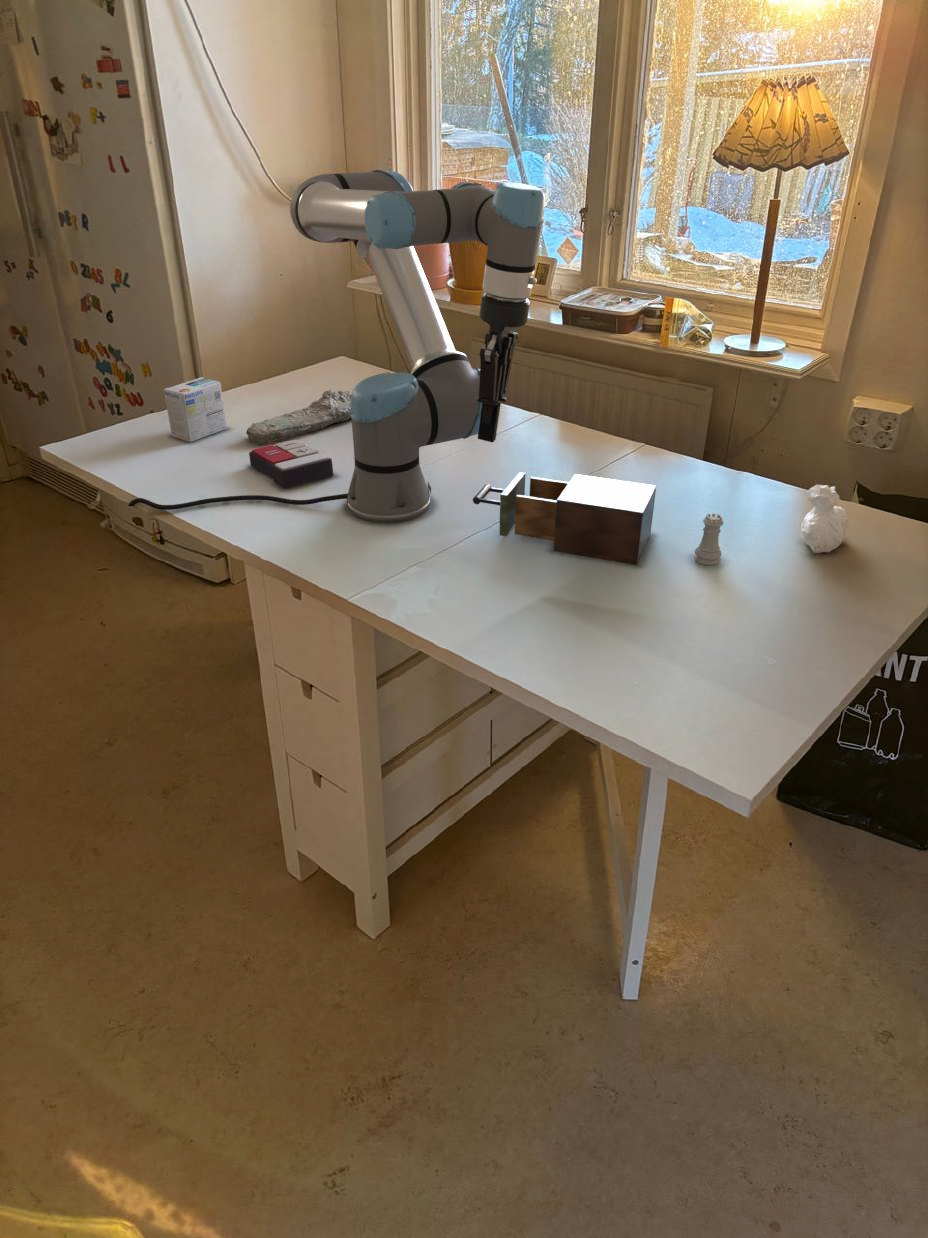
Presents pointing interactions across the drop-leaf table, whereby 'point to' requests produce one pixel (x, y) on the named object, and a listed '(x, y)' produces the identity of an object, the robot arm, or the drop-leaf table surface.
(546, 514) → the drawer
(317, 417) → the long grey stone
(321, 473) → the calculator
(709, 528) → the rook chess piece
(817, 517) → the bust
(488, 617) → the drop-leaf table surface
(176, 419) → the light bulb box
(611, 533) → the cabinet
